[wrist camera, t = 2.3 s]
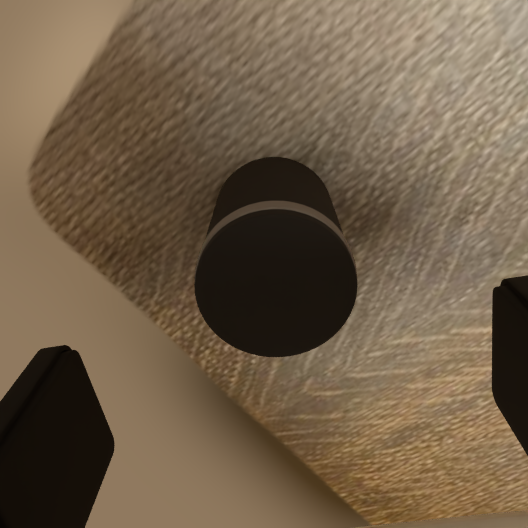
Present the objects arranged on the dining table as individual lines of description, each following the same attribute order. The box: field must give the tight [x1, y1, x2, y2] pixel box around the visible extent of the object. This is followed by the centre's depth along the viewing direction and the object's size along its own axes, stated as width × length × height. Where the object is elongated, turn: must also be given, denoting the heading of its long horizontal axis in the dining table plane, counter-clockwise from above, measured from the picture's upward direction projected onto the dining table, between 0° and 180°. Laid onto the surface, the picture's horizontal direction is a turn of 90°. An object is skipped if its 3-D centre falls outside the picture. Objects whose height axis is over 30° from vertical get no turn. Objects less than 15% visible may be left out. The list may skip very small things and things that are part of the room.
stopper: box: [194, 157, 357, 357], centre depth 16 cm, size 4×4×6 cm
